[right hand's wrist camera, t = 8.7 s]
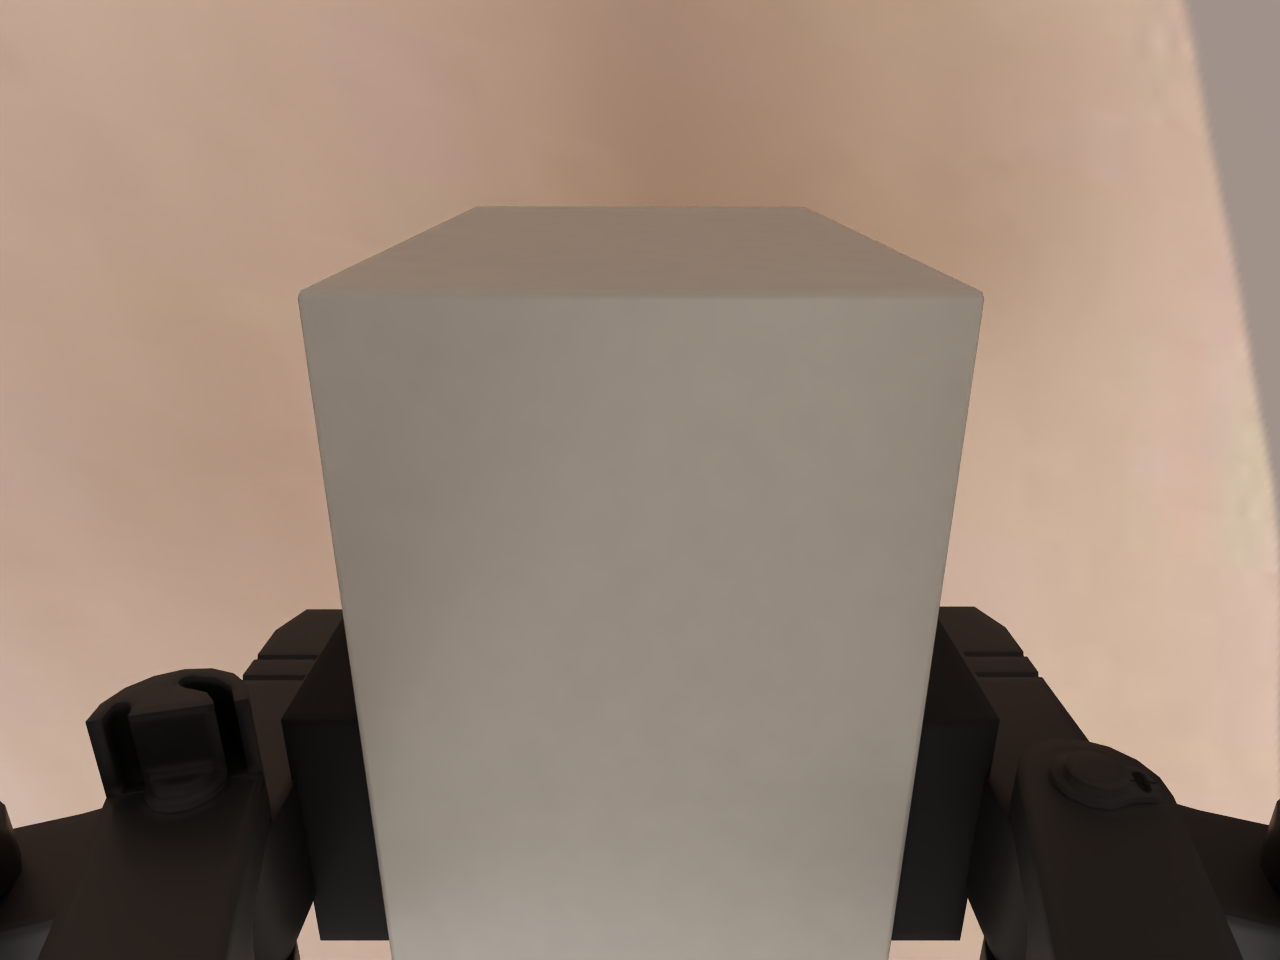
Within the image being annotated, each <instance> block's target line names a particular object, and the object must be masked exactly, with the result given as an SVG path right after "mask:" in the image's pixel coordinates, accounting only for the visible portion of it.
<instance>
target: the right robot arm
mask: <svg viewBox="0 0 1280 960" xmlns="http://www.w3.org/2000/svg"><path fill="white" fill-rule="evenodd" d="M86 726H87V729H88V733H89V737H90V740H91V744H92V747H93V751H94V754H95V758H96V762H97V765H98V769H99V772H100V776H101V779H102V783H103V787H104V790H105V794H106V797H107V798H106V800H105V803H104V805H103V807H102V808H101V809H98V810H94V811H91V812H87V813H84V814H79V815H75V816H70V817H66V818H61V819H56V820H52V821H47V822H42V823H38V824H33V825H29V826H24V827H19V828H15V829H13V828H12V825H11V822H10V819H9V816H8V813H7V810H6V807H5V805H4V804H3V803H2V802H0V960H300V955H299V950H298V945H297V938H298V936H299V933H300V931H301V929H302V926H303V924H304V922H305V919H306V917H307V915H308V912H309V910H310V907H311V905H312V903H313V901H314V906H315V912H316V918H317V923H318V929H319V934H320V940H389V934H388V927H387V920H386V913H385V906H384V899H383V892H382V885H381V878H380V871H379V864H378V857H377V850H376V843H375V836H374V829H373V822H372V815H371V808H370V801H369V794H368V787H367V780H366V773H365V766H364V759H363V752H362V745H361V738H360V731H359V724H358V717H357V709H356V702H355V695H354V688H353V681H352V674H351V667H350V660H349V653H348V646H347V639H346V632H345V625H344V618H343V611H342V609H307V610H305V611H304V612H302V613H301V614H299V615H298V616H296V617H295V618H293V619H292V620H290V621H289V622H287V623H286V624H284V625H283V626H281V627H280V628H278V629H277V630H276V631H275V632H274V633H273V635H272V636H271V637H270V639H269V640H268V641H267V643H266V644H265V646H264V647H263V648H262V650H261V651H260V652H259V654H258V659H257V660H254V661H253V662H252V663H251V665H250V666H249V668H248V669H247V670H246V672H245V673H244V674H243V680H241V679H240V678H239V677H238V676H236V675H235V674H234V673H230V672H225V671H221V670H217V669H213V668H209V669H184V670H179V671H175V672H170V673H166V674H161V675H157V676H153V677H151V678H148V679H146V680H143V681H141V682H138V683H136V684H134V685H131V686H129V687H126V688H124V689H123V690H121V691H120V692H118V693H117V694H115V695H114V696H112V697H111V698H109V699H108V700H106V701H105V702H103V703H101V704H100V705H99V707H98V708H97V709H96V710H95V711H94V712H93V714H92V715H91V716H90V717H89V718H88V720H87V721H86ZM967 899H969V902H970V904H971V906H972V909H973V911H974V913H975V916H976V918H977V920H978V923H979V925H980V927H981V930H982V932H983V934H984V940H983V945H982V950H981V955H980V960H1280V799H1279V800H1278V801H1277V803H1276V806H1275V809H1274V812H1273V815H1272V818H1271V821H1270V824H1269V825H1265V824H1260V823H1256V822H1251V821H1247V820H1242V819H1237V818H1233V817H1228V816H1223V815H1219V814H1214V813H1209V812H1205V811H1200V810H1196V809H1193V808H1189V807H1186V806H1182V805H1179V804H1177V803H1176V801H1175V799H1174V797H1173V795H1172V794H1171V792H1170V791H1169V790H1168V788H1167V787H1166V785H1165V784H1164V783H1163V781H1162V780H1161V779H1160V777H1159V776H1157V775H1156V774H1155V773H1153V772H1152V771H1151V770H1149V769H1148V768H1147V767H1145V766H1144V765H1143V764H1142V763H1140V762H1139V761H1138V760H1136V759H1134V758H1132V757H1129V756H1127V755H1125V754H1123V753H1121V752H1119V751H1117V750H1115V749H1112V748H1110V747H1108V746H1104V745H1100V744H1096V743H1092V742H1089V740H1088V739H1087V738H1086V736H1085V735H1084V734H1083V732H1082V731H1081V730H1080V728H1079V727H1078V725H1077V724H1076V723H1075V721H1074V720H1073V719H1072V717H1071V716H1070V715H1069V713H1068V712H1067V711H1066V709H1065V708H1064V706H1063V705H1062V704H1061V702H1060V701H1059V700H1058V698H1057V697H1056V696H1055V694H1054V693H1053V691H1052V690H1051V689H1050V687H1049V686H1048V685H1047V683H1046V682H1045V681H1044V679H1043V678H1042V677H1038V671H1037V670H1036V668H1035V667H1034V666H1033V664H1032V663H1031V662H1030V660H1029V659H1028V657H1024V655H1023V651H1022V649H1021V648H1020V647H1019V645H1018V644H1017V642H1016V641H1015V640H1014V638H1013V637H1012V636H1011V634H1010V633H1009V632H1008V630H1007V629H1006V628H1005V627H1004V626H1002V625H1001V624H999V623H998V622H996V621H995V620H993V619H992V618H990V617H989V616H987V615H986V614H984V613H983V612H981V611H980V610H979V609H977V608H976V607H939V613H938V620H937V627H936V634H935V641H934V647H933V654H932V661H931V668H930V675H929V682H928V689H927V696H926V703H925V710H924V716H923V723H922V730H921V737H920V744H919V751H918V758H917V765H916V772H915V778H914V785H913V792H912V799H911V806H910V813H909V820H908V827H907V834H906V841H905V847H904V854H903V861H902V868H901V875H900V882H899V889H898V896H897V903H896V909H895V916H894V923H893V930H892V937H891V940H960V937H961V932H962V926H963V921H964V915H965V910H966V904H967Z"/></svg>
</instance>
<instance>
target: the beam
mask: <svg viewBox="0 0 1280 960" xmlns="http://www.w3.org/2000/svg"><path fill="white" fill-rule="evenodd" d="M298 302H299V309H300V316H301V323H302V330H303V337H304V344H305V351H306V358H307V365H308V372H309V379H310V386H311V393H312V400H313V407H314V414H315V421H316V428H317V435H318V442H319V449H320V456H321V463H322V471H323V478H324V485H325V492H326V499H327V506H328V513H329V520H330V527H331V534H332V541H333V548H334V555H335V562H336V569H337V576H338V583H339V590H340V597H341V604H342V611H343V618H344V625H345V632H346V639H347V646H348V653H349V660H350V667H351V674H352V681H353V688H354V695H355V702H356V709H357V717H358V724H359V731H360V738H361V745H362V752H363V759H364V766H365V773H366V780H367V787H368V794H369V801H370V808H371V815H372V822H373V829H374V836H375V843H376V850H377V857H378V864H379V871H380V878H381V885H382V892H383V899H384V906H385V913H386V920H387V927H388V934H389V941H390V948H391V955H392V960H888V958H889V951H890V944H891V937H892V930H893V923H894V916H895V909H896V903H897V896H898V889H899V882H900V875H901V868H902V861H903V854H904V847H905V841H906V834H907V827H908V820H909V813H910V806H911V799H912V792H913V785H914V778H915V772H916V765H917V758H918V751H919V744H920V737H921V730H922V723H923V716H924V710H925V703H926V696H927V689H928V682H929V675H930V668H931V661H932V654H933V647H934V641H935V634H936V627H937V620H938V613H939V606H940V599H941V592H942V585H943V579H944V572H945V565H946V558H947V551H948V544H949V537H950V530H951V523H952V516H953V510H954V503H955V496H956V489H957V482H958V475H959V468H960V461H961V454H962V448H963V441H964V434H965V427H966V420H967V413H968V406H969V399H970V392H971V385H972V379H973V372H974V365H975V358H976V351H977V344H978V337H979V330H980V323H981V317H982V310H983V303H984V297H983V293H982V292H981V291H979V290H977V289H975V288H973V287H971V286H969V285H967V284H964V283H962V282H960V281H958V280H956V279H954V278H952V277H950V276H948V275H946V274H944V273H941V272H939V271H937V270H935V269H933V268H931V267H929V266H927V265H925V264H923V263H920V262H918V261H916V260H914V259H912V258H910V257H908V256H906V255H904V254H902V253H899V252H897V251H895V250H893V249H891V248H889V247H887V246H885V245H883V244H881V243H879V242H876V241H874V240H872V239H870V238H868V237H866V236H864V235H862V234H860V233H858V232H855V231H853V230H851V229H849V228H847V227H845V226H843V225H841V224H839V223H837V222H835V221H832V220H830V219H828V218H826V217H824V216H822V215H820V214H818V213H816V212H814V211H811V210H809V209H807V208H805V207H475V208H473V209H471V210H469V211H467V212H464V213H462V214H460V215H458V216H456V217H454V218H452V219H450V220H448V221H446V222H444V223H442V224H439V225H437V226H435V227H433V228H431V229H429V230H427V231H425V232H423V233H421V234H419V235H416V236H414V237H412V238H410V239H408V240H406V241H404V242H402V243H400V244H398V245H396V246H393V247H391V248H389V249H387V250H385V251H383V252H381V253H379V254H377V255H375V256H373V257H371V258H368V259H366V260H364V261H362V262H360V263H358V264H356V265H354V266H352V267H350V268H348V269H345V270H343V271H341V272H339V273H337V274H335V275H333V276H331V277H329V278H327V279H325V280H323V281H320V282H318V283H316V284H314V285H312V286H310V287H308V288H306V289H304V290H302V291H300V293H299V297H298Z"/></svg>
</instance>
